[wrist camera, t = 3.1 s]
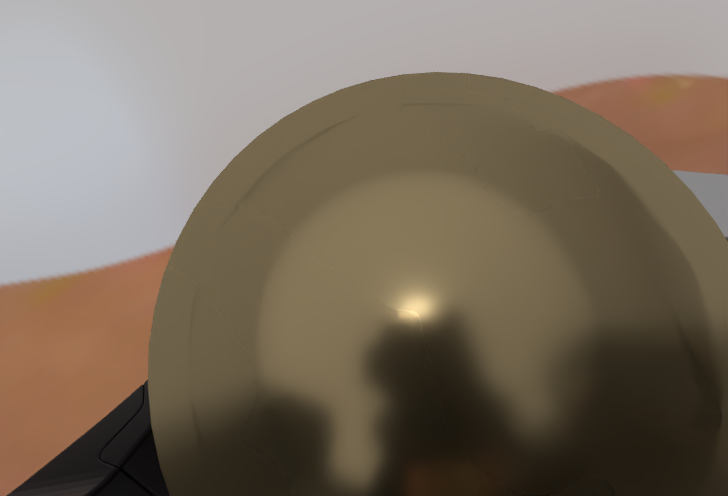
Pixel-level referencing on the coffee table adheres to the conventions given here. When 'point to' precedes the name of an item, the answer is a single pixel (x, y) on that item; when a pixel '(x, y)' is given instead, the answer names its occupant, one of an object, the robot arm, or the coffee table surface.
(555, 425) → the brass fitting
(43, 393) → the coffee table surface
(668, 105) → the coffee table surface
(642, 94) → the coffee table surface
